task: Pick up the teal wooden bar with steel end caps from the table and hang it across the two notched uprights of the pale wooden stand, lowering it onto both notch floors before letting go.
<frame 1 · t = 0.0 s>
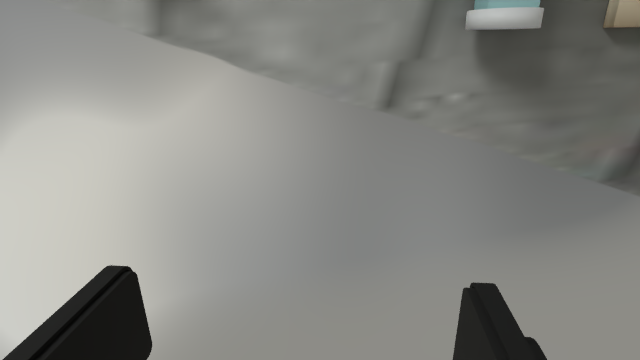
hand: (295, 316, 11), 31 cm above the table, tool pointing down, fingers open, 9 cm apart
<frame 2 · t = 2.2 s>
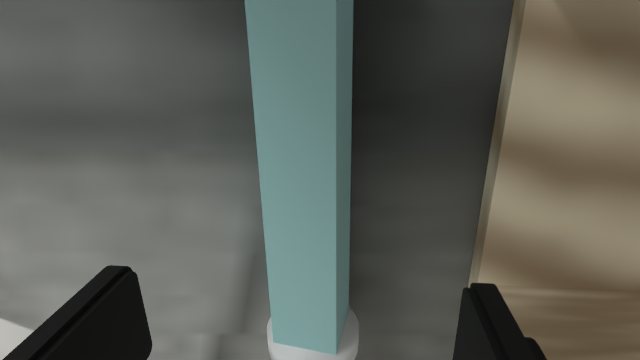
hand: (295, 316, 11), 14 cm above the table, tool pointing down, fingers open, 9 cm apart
hanger bar: (321, 151, 23), on the table, tilted 10°
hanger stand: (596, 153, 22), on the table
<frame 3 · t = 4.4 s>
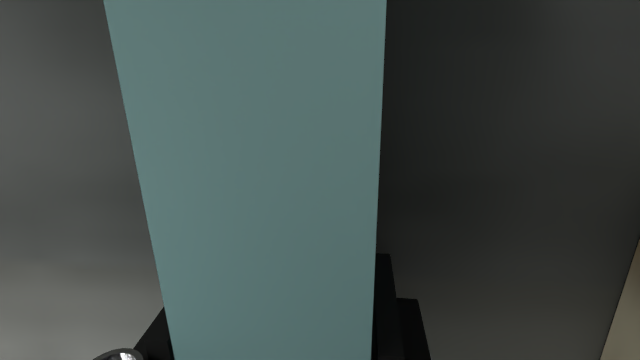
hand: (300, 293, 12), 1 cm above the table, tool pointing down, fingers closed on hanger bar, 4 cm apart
hanger bar: (305, 271, 13), on the table, touching gripper
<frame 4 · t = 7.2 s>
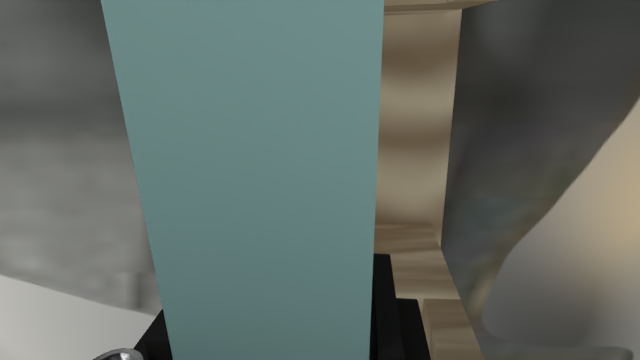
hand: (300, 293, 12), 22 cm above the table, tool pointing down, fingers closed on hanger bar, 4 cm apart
hanger bar: (304, 274, 13), point 21 cm above the table, touching gripper
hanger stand: (373, 125, 31), on the table
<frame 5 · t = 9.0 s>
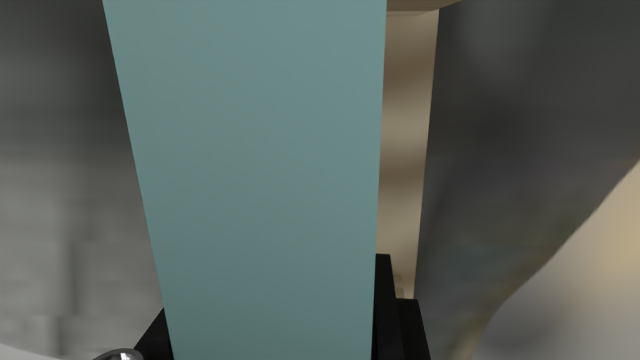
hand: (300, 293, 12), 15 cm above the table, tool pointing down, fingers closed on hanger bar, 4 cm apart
hanger bar: (305, 274, 13), point 14 cm above the table, touching gripper
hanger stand: (330, 154, 25), on the table
when the fingers open (12 cm above the table, at t = 10.4 s): hanger bar stays where it is, resting on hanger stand.
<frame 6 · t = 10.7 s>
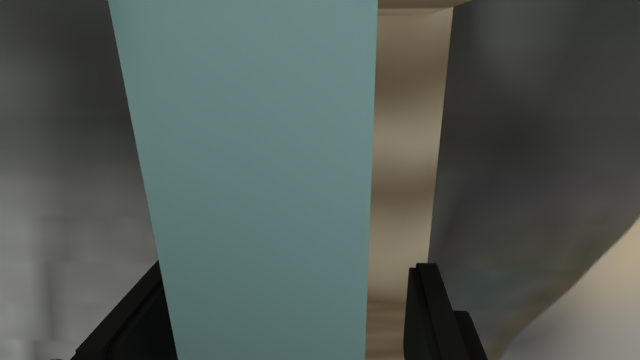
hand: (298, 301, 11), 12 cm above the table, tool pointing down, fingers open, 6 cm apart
hanger bar: (303, 267, 13), point 10 cm above the table, touching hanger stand
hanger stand: (329, 169, 23), on the table
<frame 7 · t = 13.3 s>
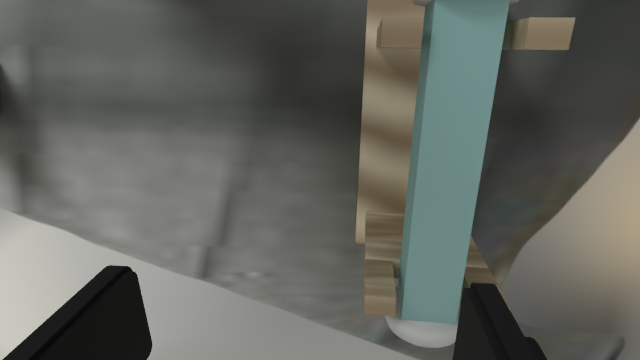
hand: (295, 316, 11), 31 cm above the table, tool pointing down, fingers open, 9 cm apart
hanger bar: (434, 162, 29), point 10 cm above the table, touching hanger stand
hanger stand: (418, 134, 39), on the table
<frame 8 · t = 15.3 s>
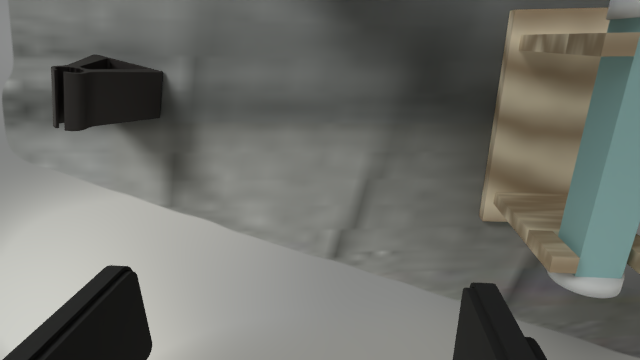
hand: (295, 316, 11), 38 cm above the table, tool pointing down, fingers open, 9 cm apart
hanger bar: (595, 147, 35), point 10 cm above the table, touching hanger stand
phone stand: (129, 86, 49), on the table
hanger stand: (545, 123, 45), on the table
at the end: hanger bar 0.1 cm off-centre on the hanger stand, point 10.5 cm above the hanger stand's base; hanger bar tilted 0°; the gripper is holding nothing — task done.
